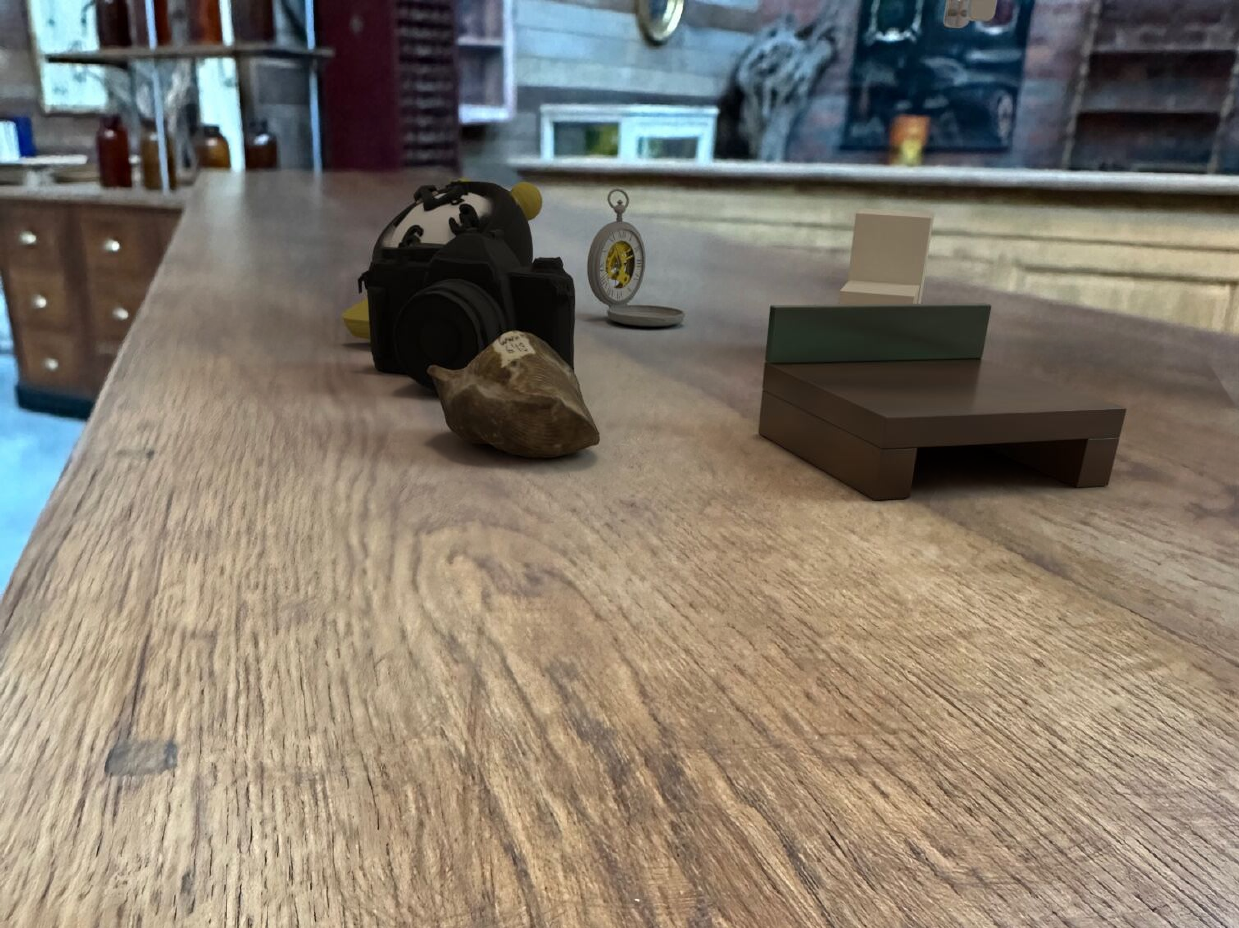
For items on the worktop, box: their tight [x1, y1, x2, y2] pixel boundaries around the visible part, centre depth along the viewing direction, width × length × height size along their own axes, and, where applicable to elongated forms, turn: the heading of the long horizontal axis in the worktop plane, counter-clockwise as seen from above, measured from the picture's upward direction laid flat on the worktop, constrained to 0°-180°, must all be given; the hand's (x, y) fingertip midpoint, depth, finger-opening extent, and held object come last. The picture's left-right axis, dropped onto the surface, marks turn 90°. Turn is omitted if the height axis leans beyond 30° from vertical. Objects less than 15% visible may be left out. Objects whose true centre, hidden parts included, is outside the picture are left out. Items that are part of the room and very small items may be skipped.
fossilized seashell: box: [427, 331, 601, 459], centre depth 65 cm, size 8×7×10 cm
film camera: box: [357, 227, 576, 392], centre depth 78 cm, size 15×10×9 cm, turn 73°
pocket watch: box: [586, 188, 686, 328], centre depth 102 cm, size 8×8×10 cm
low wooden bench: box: [757, 302, 1128, 501], centre depth 66 cm, size 14×14×7 cm
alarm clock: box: [341, 177, 543, 341], centre depth 93 cm, size 12×15×15 cm
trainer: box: [837, 207, 935, 305], centre depth 90 cm, size 12×6×10 cm, turn 165°
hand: (966, 24), depth 91 cm, fingers open, 8 cm apart
